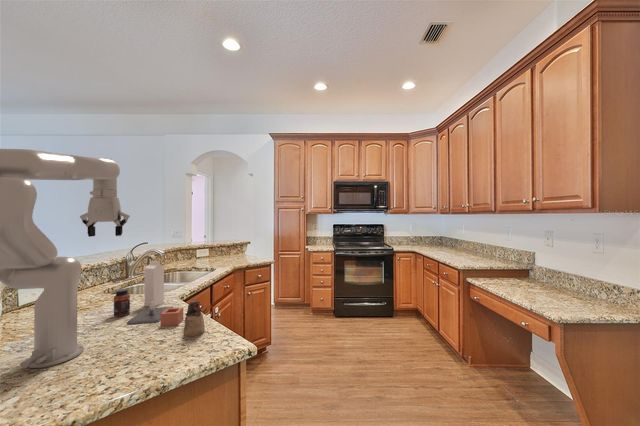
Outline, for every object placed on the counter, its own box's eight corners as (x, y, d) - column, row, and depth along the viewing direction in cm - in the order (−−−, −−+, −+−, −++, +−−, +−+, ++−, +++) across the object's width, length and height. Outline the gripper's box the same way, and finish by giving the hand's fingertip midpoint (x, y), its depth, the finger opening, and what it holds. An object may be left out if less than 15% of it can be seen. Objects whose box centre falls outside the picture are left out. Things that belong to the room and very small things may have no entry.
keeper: (158, 321, 109) (158, 306, 109) (127, 324, 107) (127, 309, 107) (173, 308, 125) (173, 295, 125) (145, 310, 123) (145, 297, 123)
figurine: (197, 327, 103) (197, 297, 103) (208, 331, 100) (208, 299, 100) (179, 334, 97) (179, 302, 97) (190, 338, 93) (190, 305, 94)
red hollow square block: (177, 325, 105) (177, 312, 106) (160, 326, 104) (160, 314, 104) (183, 318, 112) (183, 307, 112) (167, 320, 111) (167, 308, 111)
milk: (155, 302, 135) (155, 259, 136) (164, 303, 133) (164, 260, 134) (144, 305, 129) (144, 261, 130) (153, 306, 128) (153, 262, 128)
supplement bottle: (133, 312, 120) (133, 288, 120) (122, 317, 114) (122, 292, 114) (121, 312, 120) (121, 288, 121) (110, 317, 115) (110, 291, 115)
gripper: (74, 193, 101) (73, 237, 101) (123, 193, 104) (123, 236, 104) (87, 195, 108) (87, 235, 108) (133, 195, 111) (133, 234, 111)
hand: (105, 236), depth 106 cm, fingers open, 9 cm apart
